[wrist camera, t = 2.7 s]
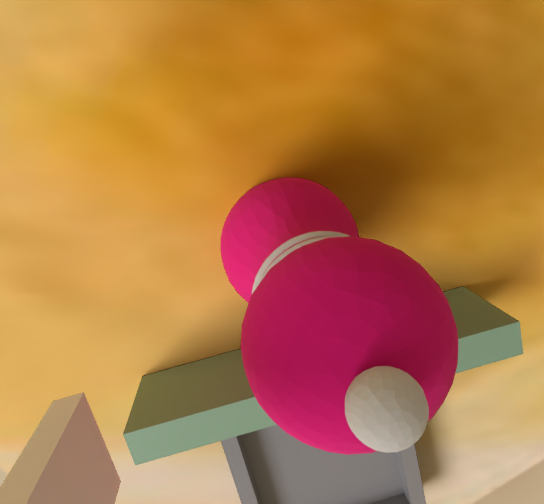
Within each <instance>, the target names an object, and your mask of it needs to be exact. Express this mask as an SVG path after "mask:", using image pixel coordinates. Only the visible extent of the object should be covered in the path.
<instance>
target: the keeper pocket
mask: <svg viewBox="0 0 544 504" xmlns="http://www.w3.org/2000/svg"><path fill="white" fill-rule="evenodd" d="M221 443H222V446H223V449H224V452H225V455H226V458H227V461H228V464H229V467H230V470H231V473H232V476H233V479H234V482H235V485H236V488H237V491H238V494H239V497H240V500H241V503H242V504H426V501H425V496H424V491H423V486H422V481H421V476H420V471H419V466H418V460H417V455H416V450H415V445H414V444H413V445H412V446H411V447H409V448H407V449H404V450H402V451H399V452H390V453H385V452H381V451H376V452H373V453H365V454H350V455H347V454H339V453H333V452H327V451H324V450H321V449H318V448H315V447H312V446H310V445H307V444H305V443H303V442H301V441H299V440H298V439H296V438H294V437H293V436H291V435H289V434H288V433H286V432H285V431H284V430H283V429H281V428H280V427H279V426H278V425H274V426H270V427H267V428H263V429H260V430H257V431H253V432H250V433H246V434H243V435H239V436H236V437H232V438H229V439H225V440H222V441H221Z"/></svg>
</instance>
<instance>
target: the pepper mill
mask: <svg viewBox="0 0 544 504" xmlns="http://www.w3.org/2000/svg"><path fill="white" fill-rule="evenodd" d="M221 256H222V262H223V265H224V268H225V271H226V273H227V276H228V279H229V281H230V283H231V284H232V286H233V287H234V288H235V290H236V291H237V293H238V294H239V295H240V296H242V297H243V298H244V299H245V300H246V301H247V302H248V303H249V304H248V307H247V310H246V314H245V317H244V320H243V323H242V332H241V353H242V359H243V365H244V369H245V373H246V376H247V379H248V382H249V385H250V387H251V390H252V392H253V394H254V396H255V398H256V399H257V401H258V403H259V405H260V406H261V407H262V409H263V410H264V411H265V412H266V414H267V415H268V416H269V417H270V418H271V419H272V420H273V421H274V422H275V423H276V424H277V425H278V426H279V427H280V428H281V429H283V430H284V431H285V432H286V433H288V434H289V435H291V436H293V437H294V438H296V439H298V440H299V441H301V442H303V443H305V444H307V445H310V446H312V447H315V448H318V449H321V450H324V451H327V452H333V453H339V454H347V455H350V454H365V453H373V452H376V451H381V452H385V453H390V452H399V451H402V450H404V449H407V448H409V447H411V446H412V445H413V444H414V443H416V442H417V441H418V440H419V439H420V437H421V436H422V435H423V433H424V431H425V428H426V425H427V423H428V421H429V420H430V419H431V418H432V417H433V416H434V415H435V414H436V412H437V411H438V409H439V408H440V406H441V405H442V404H443V402H444V400H445V398H446V396H447V394H448V392H449V390H450V388H451V386H452V383H453V380H454V376H455V372H456V369H457V365H458V333H457V327H456V323H455V320H454V317H453V314H452V311H451V308H450V305H449V302H448V300H447V298H446V297H445V295H444V293H443V292H442V290H441V288H440V287H439V285H438V284H437V283H436V282H435V281H434V279H433V278H432V277H431V276H430V275H429V274H428V273H427V272H426V270H425V269H424V268H423V267H422V266H421V265H420V264H419V263H417V262H416V261H415V260H413V259H412V258H411V257H409V256H408V255H406V254H405V253H404V252H402V251H401V250H399V249H396V248H394V247H391V246H389V245H386V244H384V243H382V242H379V241H377V240H373V239H367V238H360V237H359V234H358V230H357V226H356V223H355V221H354V219H353V217H352V215H351V213H350V211H349V210H348V209H347V207H346V206H345V204H344V203H343V202H342V201H341V200H340V199H339V198H338V197H337V196H336V195H335V194H334V193H332V192H331V191H330V190H329V189H327V188H326V187H324V186H322V185H321V184H318V183H316V182H313V181H311V180H307V179H302V178H289V177H285V178H279V179H273V180H269V181H267V182H264V183H261V184H259V185H257V186H255V187H253V188H252V189H250V190H249V191H248V192H247V193H245V194H244V195H243V196H242V197H241V198H240V199H239V200H238V201H237V203H236V204H235V205H234V206H233V208H232V209H231V211H230V213H229V215H228V216H227V218H226V221H225V224H224V226H223V230H222V235H221Z"/></svg>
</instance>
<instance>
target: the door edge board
mask: <svg viewBox="0 0 544 504" xmlns="http://www.w3.org/2000/svg"><path fill="white" fill-rule="evenodd" d="M443 293H444V295H445V297H446V298H447V300H448V302H449V305H450V308H451V311H452V314H453V317H454V320H455V323H456V327H457V333H458V365H457V369H456V372H455V373H458V372H462V371H465V370H469V369H472V368H476V367H479V366H483V365H486V364H490V363H493V362H497V361H500V360H503V359H507V358H510V357H514V356H517V355H521V354H523V348H522V339H521V330H520V322H519V321H518V320H516V319H515V318H513V317H511V316H510V315H508V314H507V313H505V312H503V311H502V310H500V309H499V308H497V307H496V306H494V305H492V304H491V303H489V302H488V301H486V300H484V299H483V298H481V297H480V296H478V295H476V294H475V293H473V292H472V291H470V290H469V289H467V288H465V287H464V286H462V287H459V288H455V289H452V290H448V291H445V292H443ZM274 425H277V424H276V423H275V422H274V421H273V420H272V419H271V418H270V417H269V416H268V415H267V414H266V412H265V411H264V410H263V409H262V407H261V406H260V405H259V403H258V401H257V399H256V398H255V396H254V394H253V392H252V390H251V387H250V385H249V382H248V379H247V376H246V373H245V369H244V365H243V359H242V353H241V349H238V350H234V351H231V352H227V353H223V354H220V355H216V356H213V357H209V358H206V359H202V360H198V361H195V362H191V363H188V364H184V365H181V366H177V367H173V368H170V369H166V370H163V371H159V372H156V373H152V374H148V375H145V376H142V379H141V382H140V385H139V388H138V391H137V394H136V397H135V400H134V403H133V406H132V409H131V412H130V415H129V418H128V421H127V424H126V427H125V430H124V433H123V435H124V438H125V440H126V443H127V445H128V448H129V450H130V453H131V455H132V458H133V460H134V463H135V465H138V464H142V463H145V462H149V461H152V460H156V459H159V458H163V457H166V456H170V455H173V454H177V453H180V452H183V451H187V450H190V449H194V448H197V447H201V446H204V445H208V444H211V443H215V442H218V441H222V440H225V439H229V438H232V437H236V436H239V435H243V434H246V433H250V432H253V431H257V430H260V429H263V428H267V427H270V426H274Z"/></svg>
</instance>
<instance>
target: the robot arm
mask: <svg viewBox="0 0 544 504" xmlns="http://www.w3.org/2000/svg"><path fill="white" fill-rule="evenodd" d="M120 482H121V481H120V478H119V476H118V474H117V471H116V469H115V466H114V464H113V462H112V459H111V457H110V454H109V452H108V450H107V447H106V445H105V442H104V440H103V438H102V435H101V433H100V430H99V428H98V426H97V423H96V421H95V418H94V416H93V414H92V411H91V409H90V406H89V404H88V402H87V399H86V397H85V394H84V392H83V393H80V394H76V395H73V396H69V397H66V398H63V399H59V400H56V401H53V402H52V404H51V406H50V407H49V409H48V410H47V412H46V414H45V415H44V417H43V419H42V420H41V422H40V423H39V425H38V427H37V428H36V430H35V432H34V433H33V435H32V437H31V438H30V440H29V441H28V443H27V445H26V446H25V448H24V450H23V451H22V453H21V454H20V456H19V458H18V459H17V461H16V463H15V464H14V466H13V467H12V469H11V471H10V472H9V474H8V476H7V477H6V479H5V480H4V482H3V484H2V486H1V487H0V504H115V500H116V496H117V493H118V489H119V485H120Z"/></svg>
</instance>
